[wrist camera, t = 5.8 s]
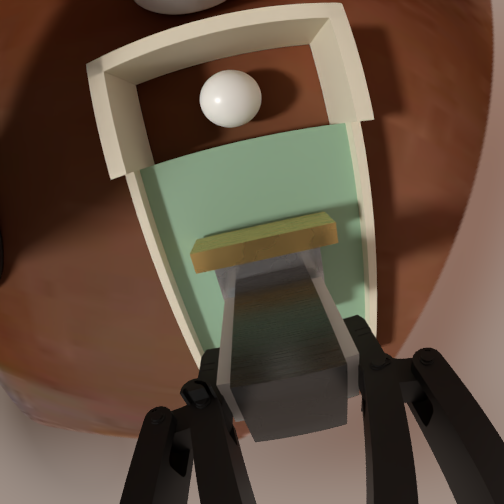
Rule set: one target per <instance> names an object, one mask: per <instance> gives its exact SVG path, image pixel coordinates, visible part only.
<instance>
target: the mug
mask: <svg viewBox="0 0 504 504" xmlns="http://www.w3.org/2000/svg"><path fill="white" fill-rule="evenodd" d="M133 1H134V2H135V3H137V4H138V5H139V6H141V7H142V8H144V9H146V10H149V11H152V12H156V13H161V14H171V15H177V14H188V13H194V12H198V11H202V10H205V9H209V8H211V7H214V6H216V5H218V4H220V3H222V2H224V1H226V0H133Z"/></svg>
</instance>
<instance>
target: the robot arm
mask: <svg viewBox="0 0 504 504" xmlns="http://www.w3.org/2000/svg"><path fill="white" fill-rule="evenodd" d="M2 266H3V249H2V240H1V233H0V278H1V274H2ZM312 282H313V284H314V286H315V288H316V291H317V293H318V295H319V298H320V300H321V302H322V304H323V307H324V309H325V311H326V314H327V316H328V318H329V321H330V323H331V326H332V328H333V330H334V333H335V335H336V337H337V340H338V342H339V345H340V347H341V350H342V352H343V355H344V357H345V359H346V362H347V372H348V396H347V398H351V397H354V396H357V395H359V389H360V392H361V395H362V408H361V411H363V421H364V436H365V453H366V479H367V480H366V486H367V504H418V493H417V483H416V474H415V466H414V458H413V452H412V445H411V439H410V433H409V427H408V422H407V416H406V411H405V407H404V403H407V404H408V406H409V408H410V410H411V412H412V413H413V415H414V417H415V419H416V421H417V423H418V425H419V427H420V428H421V430H422V432H423V434H424V436H425V438H426V440H427V442H428V444H429V446H430V447H431V450H432V452H433V454H434V456H435V458H436V460H437V462H438V464H439V466H440V468H441V470H442V472H443V474H444V476H445V478H446V480H447V482H448V485H449V487H450V489H451V491H452V493H453V495H454V498H455V500H456V502H457V504H504V442H503V440H502V439H501V437H500V436H499V434H498V432H497V431H496V429H495V428H494V426H493V425H492V423H491V422H490V420H489V419H488V417H487V416H486V414H485V413H484V411H483V410H482V409H481V407H480V406H479V404H478V403H477V401H476V400H475V399H474V397H473V396H472V394H471V393H470V392H469V390H468V389H467V388H466V386H465V385H464V384H463V382H462V381H461V379H460V378H459V377H458V376H457V374H456V373H455V372H454V370H453V369H452V368H451V367H450V365H449V364H448V363H447V361H446V360H445V359H444V357H443V356H442V355H441V354H440V353H439V352H438V351H437V350H435V349H433V348H423V349H420V350H418V351H417V352H415V354H414V355H413V358H407V359H395V358H392V357H391V356H390V355H388V354H386V353H384V351H383V350H382V348H381V346H380V344H379V343H378V341H377V339H376V337H375V336H374V334H373V333H372V330H371V329H370V327H369V325H368V324H367V322H366V320H365V319H364V318H362V317H361V316H359V315H355V316H351V317H348V318H344V319H342V317H341V315H340V313H339V311H338V309H337V307H336V305H335V303H334V301H333V299H332V297H331V295H330V293H329V291H328V289H327V287H326V285H325V283H324V281H323V279H322V277H317V278H313V279H312ZM234 298H235V297H232V298H227V299H225V303H224V312H223V321H222V331H221V341H220V347H219V348H213V349H207V350H206V351H205V352H204V354H203V355H202V357H201V363H200V369H199V375H198V378H197V379H193V380H190V381H188V382H187V383H186V384H184V385H183V387H182V388H181V391H180V394H181V396H182V398H183V399H184V401H185V402H186V404H187V405H186V406H184V407H182V408H179V409H176V410H173V411H170V409H168V408H167V407H162V406H160V407H155V408H153V409H151V410H150V411H149V412H148V413H147V414H146V416H145V419H144V422H143V425H142V428H141V431H140V434H139V438H138V441H137V444H136V448H135V451H134V454H133V458H132V461H131V465H130V468H129V471H128V475H127V478H126V482H125V486H124V489H123V493H122V497H121V500H120V504H187V500H188V493H189V486H190V479H191V472H192V465H193V460H194V464H195V472H196V477H197V485H198V491H199V497H200V503H201V504H256V501H255V498H254V494H253V491H252V488H251V484H250V481H249V477H248V474H247V470H246V467H245V463H244V460H243V456H242V453H241V449H240V445H239V441H238V437H237V433H236V430H235V428H234V426H233V417H234V419H235V421H244V418H243V416H242V414H241V412H240V409H239V407H238V405H237V403H236V401H235V398H234V396H233V394H232V392H231V389H230V373H231V353H232V334H233V316H234Z"/></svg>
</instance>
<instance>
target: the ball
mask: <svg viewBox="0 0 504 504" xmlns="http://www.w3.org/2000/svg"><path fill="white" fill-rule="evenodd" d="M261 99H262V98H261V91H260V88H259V86H258V84H257V82H256V81H255V80H254V79H253V78H252V77H251V76H249V75H248V74H246V73H244V72H241V71H238V70H225V71H221V72H218V73H216V74H214V75H213V76H211V77H210V78H209V79H208V80H207V81H206V82H205V84H204V85H203V87H202V89H201V93H200V106H201V109H202V111H203V113H204V115H205V116H206V117H207V118H208V119H209V120H210V121H211V122H213V123H214V124H216V125H219V126H222V127H229V128H231V127H238V126H241V125H244V124H246V123H248V122H249V121H250V120H251V119H253V118H254V116H255V115H256V114H257V112H258V111H259V108H260V105H261Z"/></svg>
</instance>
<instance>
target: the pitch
mask: <svg viewBox="0 0 504 504" xmlns="http://www.w3.org/2000/svg"><path fill="white" fill-rule="evenodd" d="M307 44H310V47H311V51H312V54H313V58H314V61H315V65H316V69H317V72H318V76H319V80H320V84H321V88H322V92H323V96H324V101H325V105H326V109H327V114H328V119H329V123H330V125H326V126H319V127H312V128H306V129H300V130H294V131H289V132H283V133H278V134H273V135H267V136H263V137H258V138H253V139H249V140H244V141H240V142H235V143H231V144H227V145H223V146H219V147H215V148H211V149H207V150H203V151H200V152H196V153H192V154H189V155H185V156H182V157H179V158H175V159H172V160H169V161H165V162H162V163H159V164H156V165H155V164H154V160H153V156H152V152H151V148H150V144H149V141H148V137H147V133H146V128H145V124H144V120H143V116H142V111H141V107H140V103H139V98H138V93H137V89H136V85H138V84H140V83H143V82H145V81H148V80H151V79H154V78H156V77H159V76H162V75H165V74H168V73H171V72H174V71H177V70H180V69H184V68H187V67H191V66H194V65H198V64H201V63H205V62H209V61H213V60H217V59H221V58H225V57H230V56H234V55H239V54H244V53H249V52H255V51H261V50H267V49H273V48H280V47H288V46H297V45H307ZM86 68H87V75H88V81H89V87H90V93H91V98H92V104H93V109H94V114H95V118H96V123H97V128H98V132H99V136H100V141H101V145H102V149H103V153H104V157H105V161H106V164H107V168H108V172H109V175H110V179H111V180H112V179H114V178H117V177H120V176H123V175H125V176H126V180H127V183H128V187H129V190H130V193H131V197H132V200H133V203H134V207H135V210H136V213H137V216H138V219H139V222H140V225H141V228H142V231H143V234H144V237H145V240H146V243H147V246H148V248H149V251H150V254H151V257H152V260H153V262H154V265H155V268H156V270H157V273H158V276H159V278H160V281H161V283H162V286H163V288H164V291H165V293H166V296H167V298H168V301H169V303H170V306H171V308H172V310H173V313H174V315H175V318H176V320H177V322H178V325H179V327H180V329H181V331H182V334H183V336H184V338H185V340H186V343H187V345H188V347H189V349H190V351H191V353H192V356H193V358H194V360H195V362H196V364H197V366H198V368H199V369H200V363H201V357H202V355H203V354H204V352H205V351H206V350H207V349H213V348H219V347H220V341H221V331H222V321H223V312H224V303H225V302H224V299H223V296H222V293H221V289H220V286H219V283H218V280H217V277H216V273H215V270H212V271H207V272H203V273H198V274H196V272H195V269H194V266H193V263H192V260H191V257H190V253H191V250H192V248H193V246H194V244H195V242H196V239H201V238H205V237H209V236H214V235H218V234H222V233H227V232H231V231H235V230H240V229H244V228H249V227H253V226H258V225H262V224H267V223H272V222H276V221H281V220H285V219H290V218H295V217H299V216H304V215H309V214H314V213H319V212H324V211H325V212H326V213H327V214H328V215H329V216H330V217H331V218H332V219H333V220H334V221H335V222H336V228H337V236H338V243H336V244H332V245H327V246H323V247H320V250H321V257H322V265H323V272H324V280H325V285H326V287H327V289H328V291H329V293H330V295H331V297H332V299H333V301H334V303H335V305H336V307H337V309H338V311H339V313H340V315H341V317H342V319H344V318H348V317H351V316H355V315H359V316H361V317H362V318H364V319H365V320H366V322H367V324H368V325H369V327H370V329H371V330H372V333H373V334H374V336H375V337H376V329H377V267H376V245H375V229H374V217H373V206H372V196H371V188H370V180H369V172H368V165H367V158H366V152H365V146H364V140H363V134H362V129H361V123H360V121H367V120H374V115H373V110H372V106H371V101H370V96H369V92H368V88H367V84H366V79H365V75H364V72H363V68H362V64H361V60H360V57H359V53H358V50H357V47H356V43H355V40H354V37H353V34H352V31H351V28H350V25H349V22H348V19H347V16H346V13H345V11H344V8H343V5H342V3H307V4H291V5H280V6H271V7H263V8H256V9H250V10H244V11H238V12H233V13H228V14H223V15H218V16H214V17H210V18H206V19H202V20H198V21H194V22H191V23H187V24H184V25H180V26H177V27H174V28H171V29H168V30H165V31H162V32H159V33H156V34H153V35H151V36H148V37H145V38H143V39H140V40H138V41H135V42H133V43H130V44H128V45H125V46H123V47H121V48H119V49H116V50H114V51H112V52H110V53H108V54H106V55H103V56H101V57H99V58H97V59H95V60H93V61H91V62H89V63H88V64H86Z"/></svg>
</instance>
